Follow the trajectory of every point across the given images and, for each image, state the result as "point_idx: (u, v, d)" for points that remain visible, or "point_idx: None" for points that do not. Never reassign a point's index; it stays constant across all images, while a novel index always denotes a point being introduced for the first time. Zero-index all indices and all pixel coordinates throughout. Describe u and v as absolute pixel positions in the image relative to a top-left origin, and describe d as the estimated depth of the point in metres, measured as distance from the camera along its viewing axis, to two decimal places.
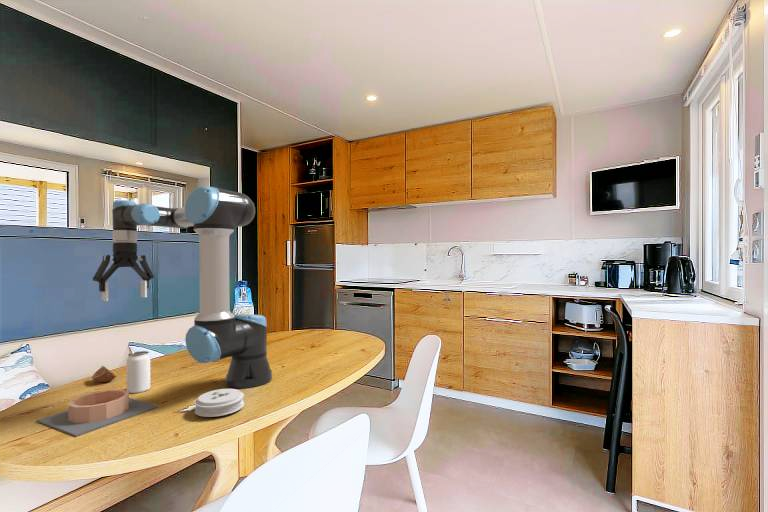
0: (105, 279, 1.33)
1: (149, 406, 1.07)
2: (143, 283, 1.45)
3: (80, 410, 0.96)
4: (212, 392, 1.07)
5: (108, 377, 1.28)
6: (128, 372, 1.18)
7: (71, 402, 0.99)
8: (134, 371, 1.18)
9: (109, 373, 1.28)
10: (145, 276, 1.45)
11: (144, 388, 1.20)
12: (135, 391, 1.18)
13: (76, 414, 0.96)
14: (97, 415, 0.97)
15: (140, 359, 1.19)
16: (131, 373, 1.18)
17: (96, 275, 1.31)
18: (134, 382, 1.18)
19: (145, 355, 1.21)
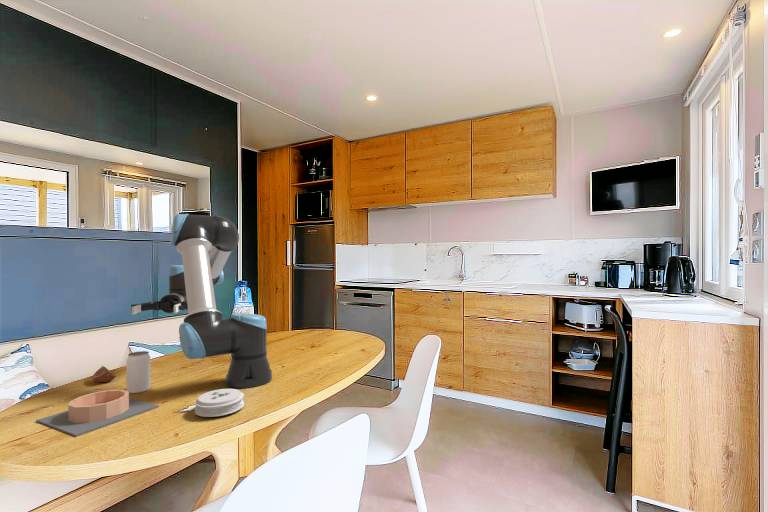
0: (139, 304, 1.42)
1: (149, 406, 1.07)
2: None
3: (80, 410, 0.96)
4: (212, 392, 1.07)
5: (108, 377, 1.28)
6: (128, 372, 1.18)
7: (71, 402, 0.99)
8: (134, 371, 1.18)
9: (109, 373, 1.28)
10: (180, 303, 1.45)
11: (144, 388, 1.20)
12: (135, 391, 1.18)
13: (76, 414, 0.96)
14: (97, 415, 0.97)
15: (140, 359, 1.19)
16: (131, 373, 1.18)
17: None
18: (134, 382, 1.18)
19: (145, 355, 1.21)
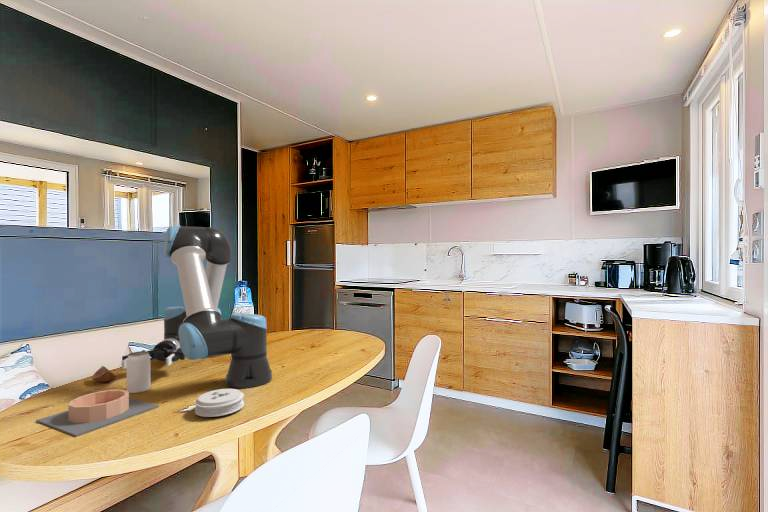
0: None
1: (149, 406, 1.07)
2: None
3: (80, 410, 0.96)
4: (212, 392, 1.07)
5: (108, 377, 1.28)
6: (128, 372, 1.18)
7: (71, 402, 0.99)
8: (134, 371, 1.18)
9: (109, 373, 1.28)
10: (174, 353, 1.37)
11: (144, 388, 1.20)
12: (135, 391, 1.18)
13: (76, 414, 0.96)
14: (97, 415, 0.97)
15: (140, 359, 1.19)
16: (131, 373, 1.18)
17: None
18: (134, 382, 1.18)
19: (145, 355, 1.21)
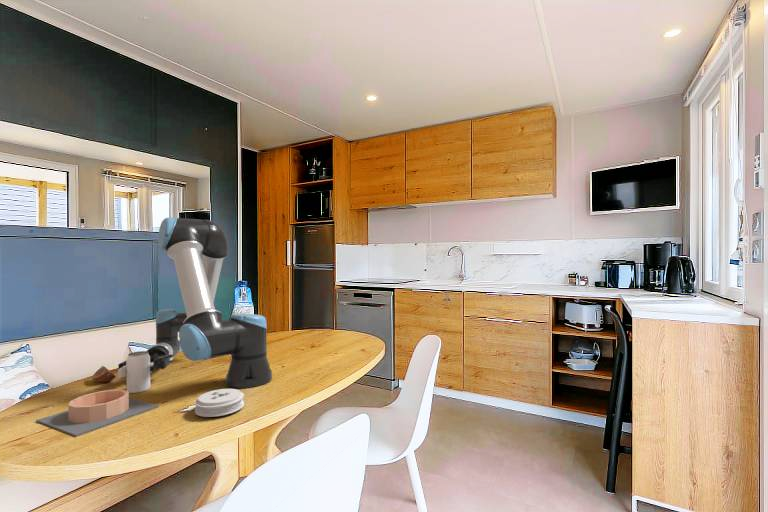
0: None
1: (149, 406, 1.07)
2: None
3: (80, 410, 0.96)
4: (212, 392, 1.07)
5: (108, 377, 1.28)
6: (128, 372, 1.18)
7: (71, 402, 0.99)
8: (134, 371, 1.18)
9: (109, 373, 1.28)
10: None
11: (144, 388, 1.20)
12: (135, 391, 1.18)
13: (76, 414, 0.96)
14: (97, 415, 0.97)
15: (140, 359, 1.19)
16: (131, 373, 1.18)
17: None
18: (134, 382, 1.18)
19: (145, 355, 1.21)
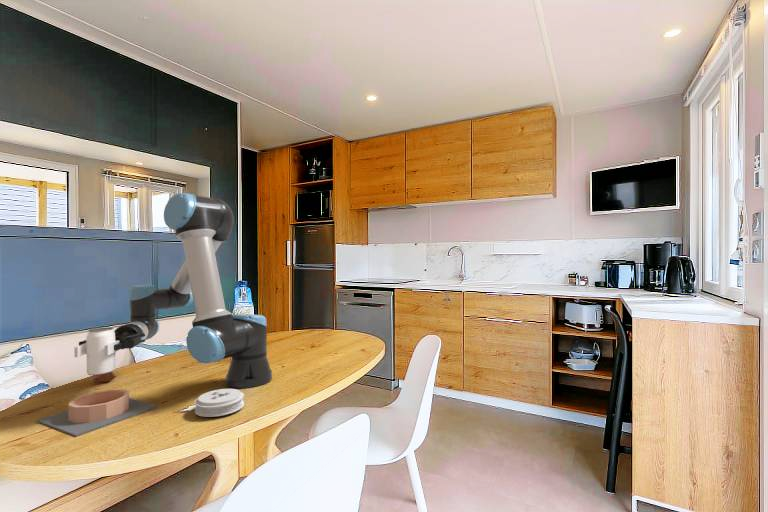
0: None
1: (149, 406, 1.07)
2: None
3: (80, 410, 0.96)
4: (212, 392, 1.07)
5: (108, 377, 1.28)
6: (88, 350, 1.02)
7: (71, 402, 0.99)
8: (95, 349, 1.02)
9: (109, 373, 1.28)
10: None
11: (107, 370, 1.03)
12: (96, 373, 1.02)
13: (76, 414, 0.96)
14: (97, 415, 0.97)
15: (102, 336, 1.02)
16: (91, 352, 1.01)
17: None
18: (94, 362, 1.01)
19: (108, 331, 1.04)
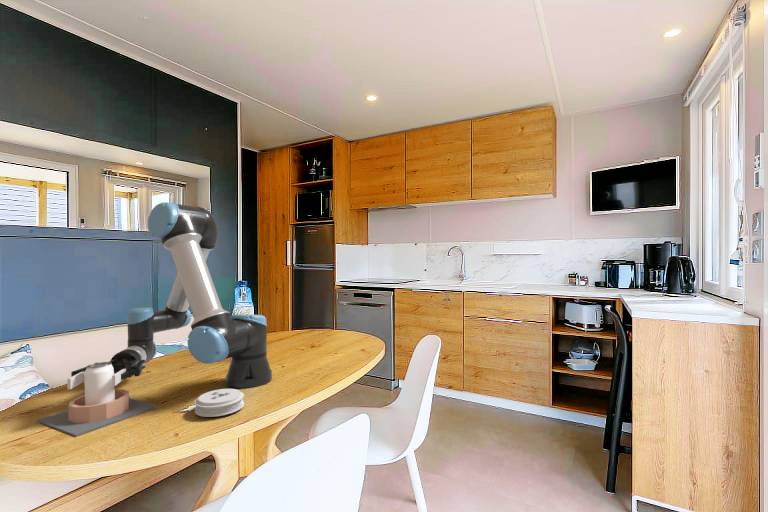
0: (83, 371, 1.05)
1: (149, 406, 1.07)
2: None
3: (80, 410, 0.96)
4: (212, 392, 1.07)
5: None
6: (86, 387, 1.00)
7: (71, 402, 0.99)
8: (93, 386, 0.99)
9: None
10: None
11: None
12: None
13: (76, 414, 0.96)
14: (97, 415, 0.97)
15: (101, 372, 1.00)
16: (89, 389, 0.99)
17: None
18: (94, 399, 0.99)
19: (107, 367, 1.02)
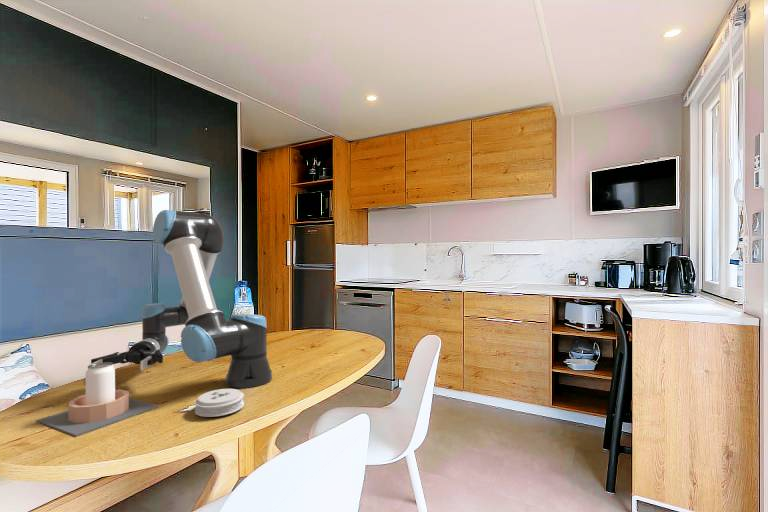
0: (101, 359, 1.18)
1: (149, 406, 1.07)
2: None
3: (80, 410, 0.96)
4: (212, 392, 1.07)
5: None
6: (87, 388, 1.00)
7: (71, 402, 0.99)
8: (94, 387, 0.99)
9: None
10: (151, 355, 1.21)
11: None
12: None
13: (76, 414, 0.96)
14: (97, 415, 0.97)
15: (102, 373, 1.00)
16: (90, 389, 0.99)
17: None
18: (94, 399, 0.99)
19: (108, 367, 1.02)
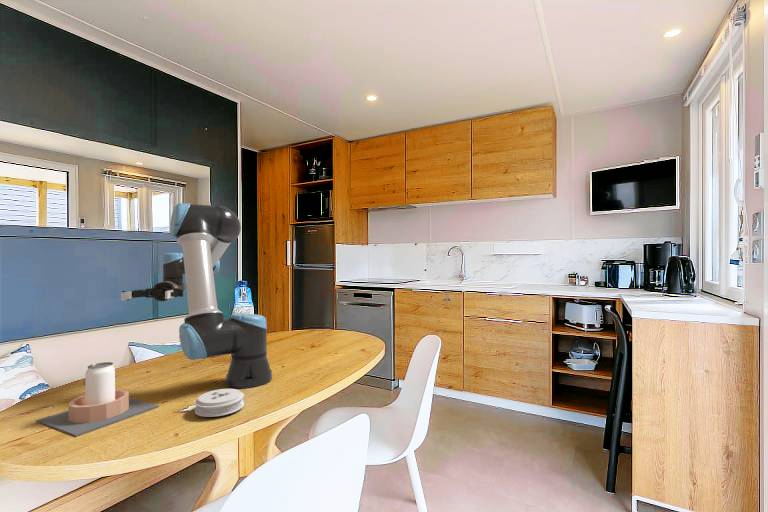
0: (130, 291, 1.35)
1: (149, 406, 1.07)
2: None
3: (80, 410, 0.96)
4: (212, 392, 1.07)
5: None
6: (87, 388, 1.00)
7: (71, 402, 0.99)
8: (94, 387, 0.99)
9: None
10: (173, 290, 1.39)
11: None
12: None
13: (76, 414, 0.96)
14: (97, 415, 0.97)
15: (102, 373, 1.00)
16: (90, 389, 0.99)
17: None
18: (94, 399, 0.99)
19: (108, 367, 1.02)
